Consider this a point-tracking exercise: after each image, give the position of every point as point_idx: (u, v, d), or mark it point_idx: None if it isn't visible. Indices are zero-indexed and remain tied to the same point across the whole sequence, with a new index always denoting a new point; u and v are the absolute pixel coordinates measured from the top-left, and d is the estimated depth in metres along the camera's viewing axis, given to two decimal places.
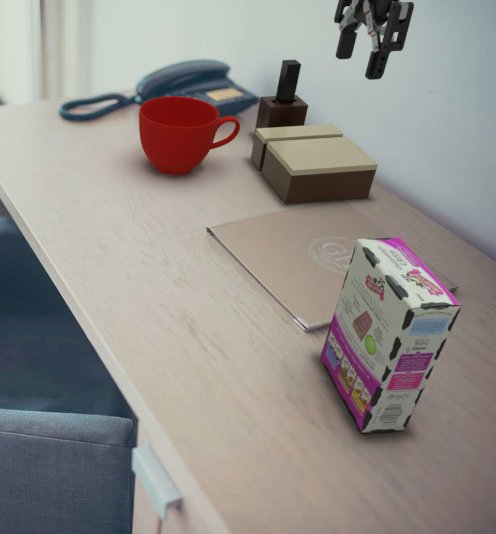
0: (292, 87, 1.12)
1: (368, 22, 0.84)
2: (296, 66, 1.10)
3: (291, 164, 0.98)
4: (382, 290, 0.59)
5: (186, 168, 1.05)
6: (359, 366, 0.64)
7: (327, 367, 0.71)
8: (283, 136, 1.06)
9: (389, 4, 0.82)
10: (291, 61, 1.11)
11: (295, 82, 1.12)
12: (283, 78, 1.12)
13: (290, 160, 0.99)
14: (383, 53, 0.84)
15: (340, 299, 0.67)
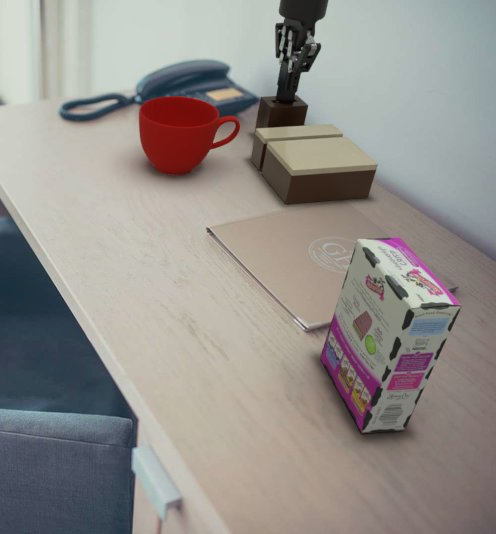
0: None
1: (289, 48, 1.08)
2: None
3: (291, 164, 0.98)
4: (382, 290, 0.59)
5: (186, 168, 1.05)
6: (359, 366, 0.64)
7: (327, 367, 0.71)
8: (283, 136, 1.06)
9: (305, 38, 1.04)
10: None
11: None
12: (283, 78, 1.12)
13: (290, 160, 0.99)
14: (295, 73, 1.09)
15: (340, 299, 0.67)
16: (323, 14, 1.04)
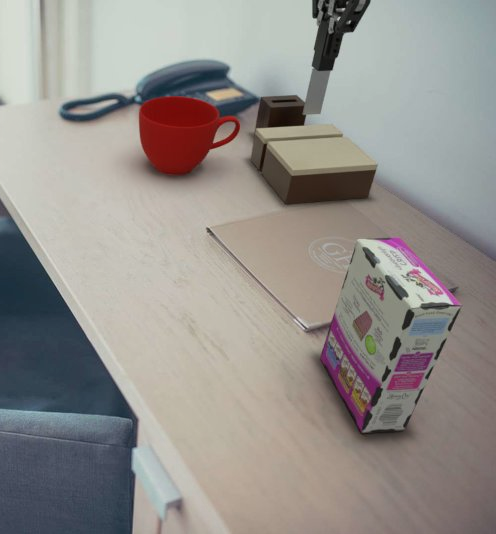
0: None
1: (330, 4, 0.92)
2: None
3: (291, 164, 0.98)
4: (382, 290, 0.59)
5: (186, 168, 1.05)
6: (359, 366, 0.64)
7: (327, 367, 0.71)
8: (283, 136, 1.06)
9: None
10: None
11: None
12: (322, 40, 0.96)
13: (290, 160, 0.99)
14: (337, 34, 0.94)
15: (340, 299, 0.67)
16: None
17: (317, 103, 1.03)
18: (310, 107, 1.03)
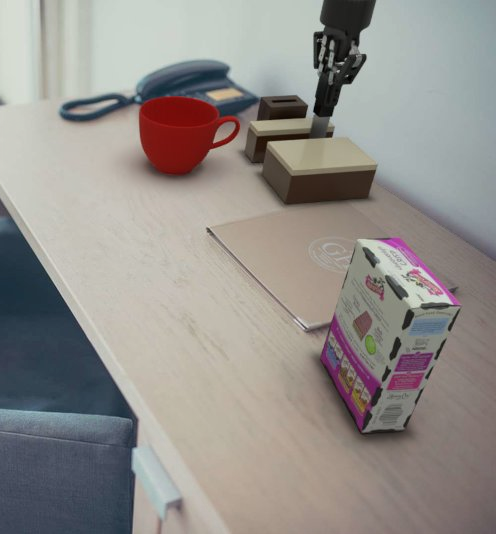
0: None
1: (330, 59, 1.01)
2: None
3: (291, 164, 0.98)
4: (382, 290, 0.59)
5: (186, 168, 1.05)
6: (359, 366, 0.64)
7: (327, 367, 0.71)
8: (276, 129, 1.09)
9: (349, 48, 0.98)
10: None
11: None
12: (322, 90, 1.05)
13: (290, 160, 0.99)
14: (336, 86, 1.02)
15: (340, 299, 0.67)
16: (368, 23, 0.97)
17: None
18: None
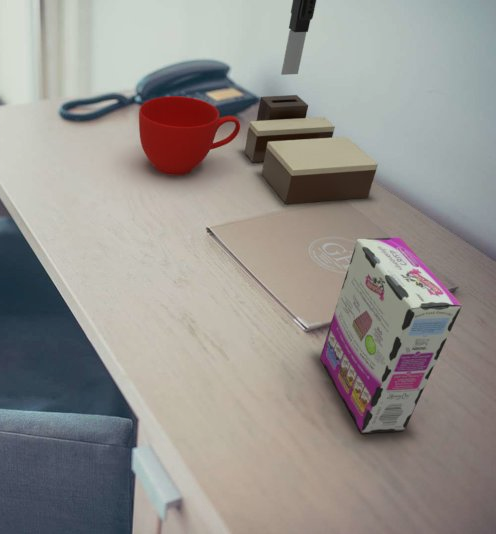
0: None
1: None
2: None
3: (291, 164, 0.98)
4: (382, 290, 0.59)
5: (186, 168, 1.05)
6: (359, 366, 0.64)
7: (327, 367, 0.71)
8: (276, 129, 1.09)
9: None
10: None
11: None
12: (297, 3, 1.05)
13: (290, 160, 0.99)
14: None
15: (340, 299, 0.67)
16: None
17: (294, 63, 1.11)
18: (288, 67, 1.11)
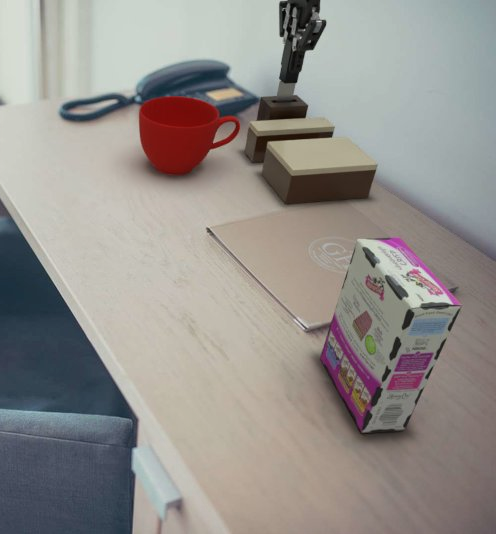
0: None
1: (293, 25, 1.06)
2: None
3: (291, 164, 0.98)
4: (382, 290, 0.59)
5: (186, 168, 1.05)
6: (359, 366, 0.64)
7: (327, 367, 0.71)
8: (276, 129, 1.09)
9: (310, 15, 1.02)
10: None
11: None
12: (287, 57, 1.10)
13: (290, 160, 0.99)
14: (300, 52, 1.07)
15: (339, 299, 0.67)
16: None
17: None
18: None
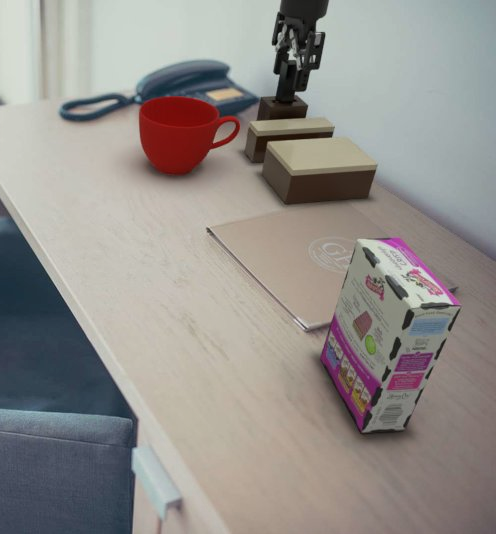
0: (292, 87, 1.12)
1: (293, 46, 1.06)
2: (296, 66, 1.10)
3: (291, 164, 0.98)
4: (382, 290, 0.59)
5: (186, 168, 1.05)
6: (359, 366, 0.64)
7: (327, 367, 0.71)
8: (276, 129, 1.09)
9: (307, 33, 1.04)
10: (291, 61, 1.11)
11: None
12: (283, 78, 1.12)
13: (290, 160, 0.99)
14: (305, 71, 1.06)
15: (340, 299, 0.67)
16: (324, 12, 1.04)
17: None
18: None
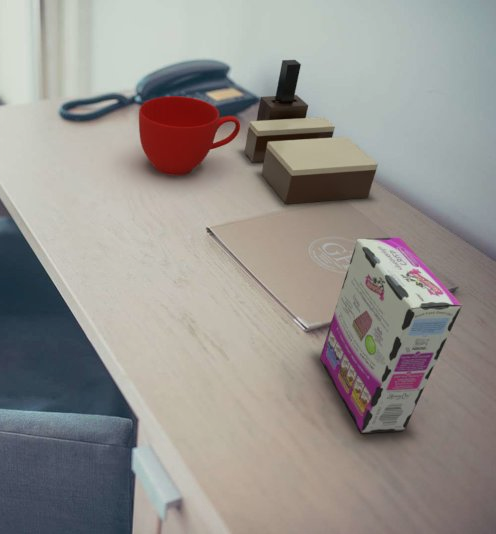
0: (292, 87, 1.12)
1: None
2: (296, 66, 1.10)
3: (291, 164, 0.98)
4: (382, 290, 0.59)
5: (186, 168, 1.05)
6: (359, 366, 0.64)
7: (327, 367, 0.71)
8: (276, 129, 1.09)
9: None
10: (291, 61, 1.11)
11: (295, 82, 1.12)
12: (283, 78, 1.12)
13: (290, 160, 0.99)
14: None
15: (339, 299, 0.67)
16: None
17: None
18: None
